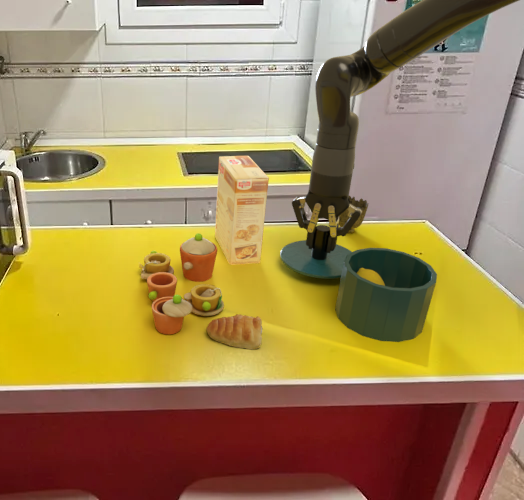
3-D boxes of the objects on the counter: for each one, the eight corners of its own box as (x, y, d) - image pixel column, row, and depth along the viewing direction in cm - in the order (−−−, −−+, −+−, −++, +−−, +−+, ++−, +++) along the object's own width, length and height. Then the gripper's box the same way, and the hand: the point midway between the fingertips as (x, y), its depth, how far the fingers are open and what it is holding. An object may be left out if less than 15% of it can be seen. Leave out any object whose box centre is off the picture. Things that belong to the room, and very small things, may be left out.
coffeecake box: (261, 265, 110) (270, 177, 101) (228, 267, 109) (234, 178, 100) (243, 234, 123) (249, 154, 114) (213, 236, 122) (217, 155, 113)
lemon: (383, 305, 95) (368, 264, 96) (398, 304, 90) (381, 261, 91) (356, 315, 95) (341, 274, 96) (369, 315, 89) (352, 271, 90)
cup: (368, 232, 124) (374, 201, 121) (353, 242, 120) (359, 210, 116) (339, 223, 129) (344, 193, 125) (324, 232, 124) (329, 201, 120)
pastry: (204, 346, 85) (205, 327, 83) (207, 323, 91) (208, 304, 89) (262, 351, 84) (264, 332, 82) (261, 327, 90) (263, 309, 88)
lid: (364, 254, 110) (370, 221, 106) (349, 288, 97) (356, 252, 94) (291, 239, 116) (295, 207, 112) (269, 270, 104) (273, 235, 100)
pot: (425, 309, 95) (439, 259, 91) (418, 354, 84) (433, 299, 79) (344, 289, 101) (353, 241, 96) (327, 329, 90) (336, 276, 85)
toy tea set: (137, 265, 109) (136, 223, 105) (210, 261, 111) (212, 220, 106) (146, 342, 86) (145, 292, 82) (237, 336, 88) (241, 287, 83)
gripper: (289, 168, 97) (281, 249, 105) (367, 179, 92) (352, 265, 100) (300, 157, 103) (291, 235, 111) (374, 167, 98) (359, 249, 105)
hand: (320, 249), depth 105 cm, fingers closed on lid, 3 cm apart
